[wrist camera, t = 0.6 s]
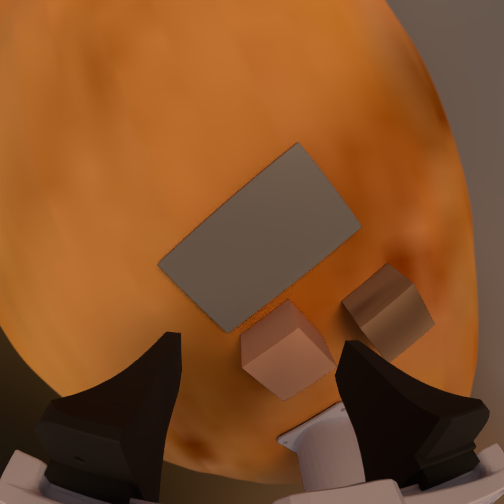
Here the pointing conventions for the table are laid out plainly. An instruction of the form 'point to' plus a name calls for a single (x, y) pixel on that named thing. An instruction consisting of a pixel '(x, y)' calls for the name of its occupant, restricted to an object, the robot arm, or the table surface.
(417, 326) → the walnut brick
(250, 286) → the baseplate
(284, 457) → the table surface
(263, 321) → the terracotta brick
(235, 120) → the table surface
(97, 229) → the table surface
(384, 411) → the robot arm
